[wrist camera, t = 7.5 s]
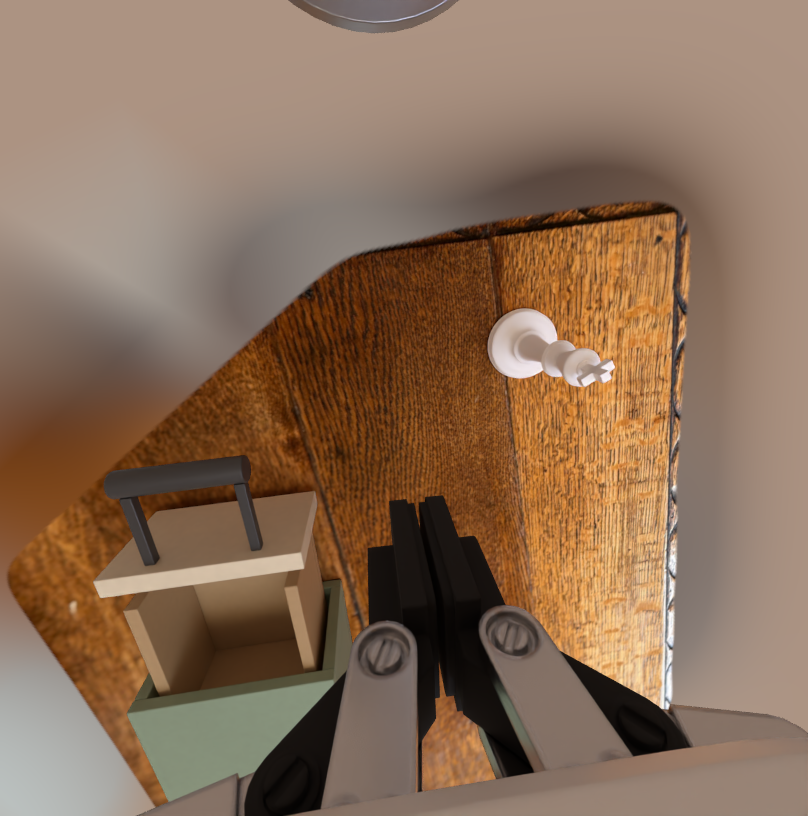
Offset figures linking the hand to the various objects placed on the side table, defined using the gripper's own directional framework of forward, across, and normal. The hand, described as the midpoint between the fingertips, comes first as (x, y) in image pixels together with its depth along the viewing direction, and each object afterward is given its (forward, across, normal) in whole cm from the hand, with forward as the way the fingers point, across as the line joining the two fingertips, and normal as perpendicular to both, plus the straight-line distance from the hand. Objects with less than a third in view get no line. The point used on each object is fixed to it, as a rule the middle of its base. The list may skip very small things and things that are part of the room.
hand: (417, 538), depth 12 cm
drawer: (+15, +11, +11) cm, 22 cm away
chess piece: (+17, -10, -3) cm, 20 cm away
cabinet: (+16, +11, +24) cm, 31 cm away
